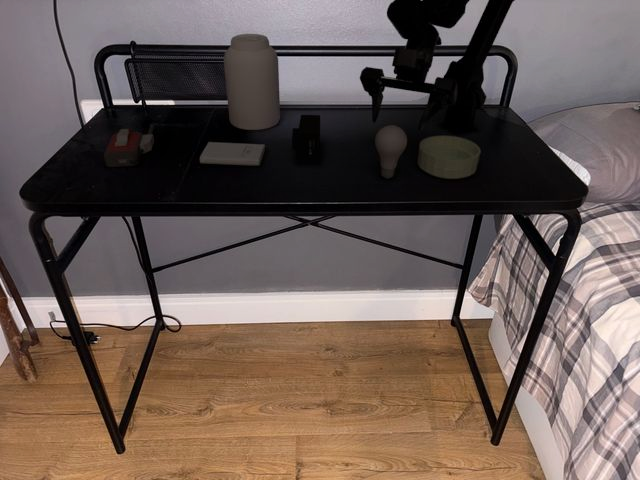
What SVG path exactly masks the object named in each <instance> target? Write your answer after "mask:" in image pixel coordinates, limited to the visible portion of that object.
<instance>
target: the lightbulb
mask: <svg viewBox="0 0 640 480" xmlns="http://www.w3.org/2000/svg"><path fill="white" fill-rule="evenodd" d="M374 145H375V146H374V147H375V149H376V151H377V154H378V155H379V157H380V160H379V161H380V167H381V169H380V170H381V172H380V174H381V176H382V177H383V178H384V179H385V180H389V179H391V178H393V177H394V176H395V171H396V168H397V164H398V161H399V159H400V157H401V156H402V154H403V153H404V151H405V150H406V148H407V145H408V137H407V134H406V132H405V131H404V130H403V129H402V127H399V126H397V125H396V124H395V125H394V124H388V125H385V126H383V127H381V128H380V129H379V130H378V132H377V133H376V135H375V138H374Z"/></svg>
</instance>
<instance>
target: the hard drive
mask: <svg viewBox="0 0 640 480" xmlns="http://www.w3.org/2000/svg"><path fill="white" fill-rule="evenodd" d="M265 151H266V145H265V144H262V143H261V144H259V143H239V142H238V143H237V142H216V141H208V142H207V144H206V146H205V147H204V149H203V151H202V152H201V154H200V157H199V164H207V165H228V166H250V167H253V166H256V167H258V166H260V165H261V162H262V159H263V157H264V155H265Z"/></svg>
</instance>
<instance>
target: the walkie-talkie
mask: <svg viewBox="0 0 640 480" xmlns="http://www.w3.org/2000/svg"><path fill="white" fill-rule="evenodd" d="M155 127H156V125H155V123H150V124H149V128H148V131H147V134H143V132H142V131H132V129H131V128H120V129H118V132H115V133H113V134H112V135H111V136H110V139H109V141H108V144H107V146H106V148H105V151H104V153H103V160H104V163H105V166H106V167H108V168H120V167H135V166H137V165H138V164H139V163H140V160H141V156H142V155H145V154H146V153H148V152H151V151H152V149H153V146H154V144H155V137H154V130H155Z"/></svg>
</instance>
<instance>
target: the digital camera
mask: <svg viewBox="0 0 640 480" xmlns="http://www.w3.org/2000/svg"><path fill="white" fill-rule="evenodd" d="M291 147H292V148H291V149H292V150H297V164H298V165H319V159H320V150H321V149H320V148H321V115H320V114H301V115H300V118H299V123H298V127H293V128H292V133H291Z"/></svg>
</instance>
